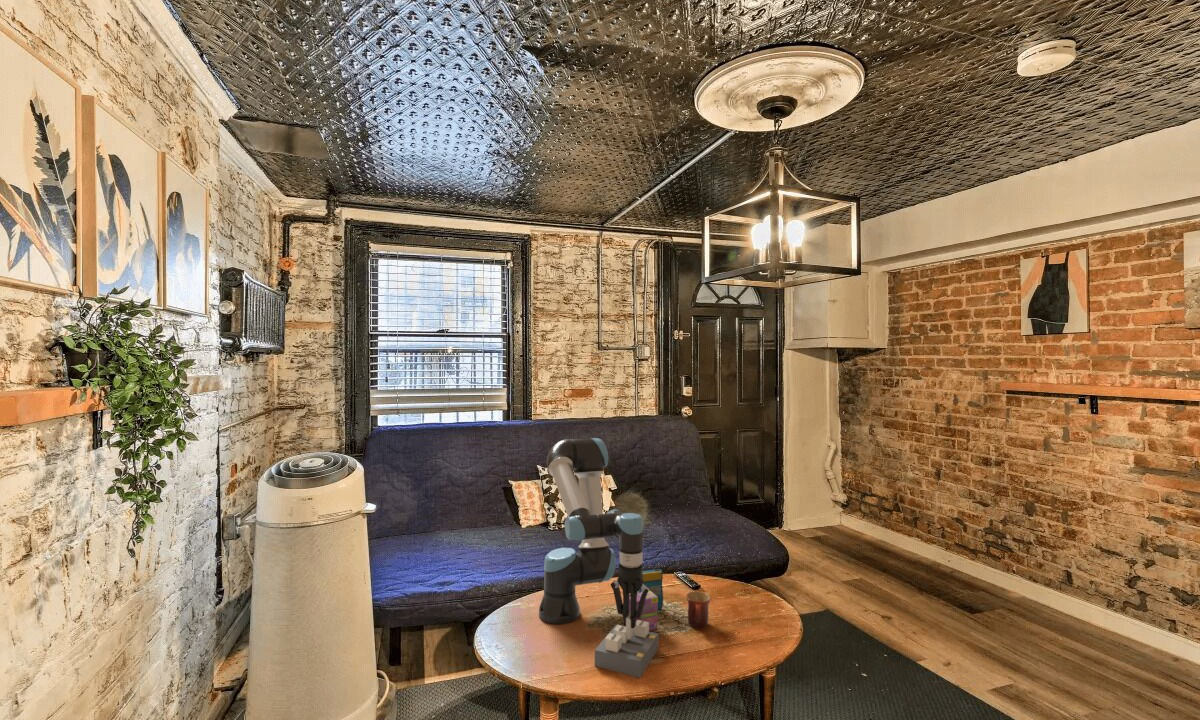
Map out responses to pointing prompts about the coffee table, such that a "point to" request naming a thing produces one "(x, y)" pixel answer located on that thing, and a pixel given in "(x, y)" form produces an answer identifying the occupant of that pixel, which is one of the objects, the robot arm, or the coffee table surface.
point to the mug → (698, 609)
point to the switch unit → (628, 654)
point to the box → (647, 609)
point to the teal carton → (654, 584)
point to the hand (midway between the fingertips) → (629, 636)
